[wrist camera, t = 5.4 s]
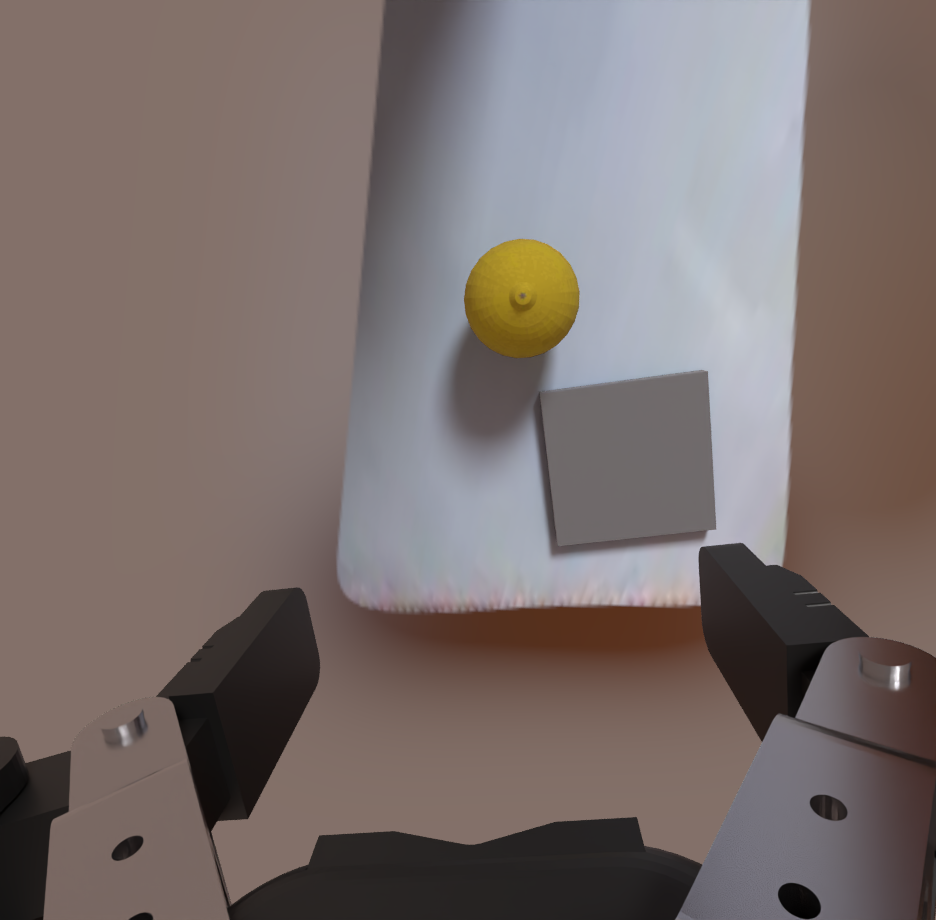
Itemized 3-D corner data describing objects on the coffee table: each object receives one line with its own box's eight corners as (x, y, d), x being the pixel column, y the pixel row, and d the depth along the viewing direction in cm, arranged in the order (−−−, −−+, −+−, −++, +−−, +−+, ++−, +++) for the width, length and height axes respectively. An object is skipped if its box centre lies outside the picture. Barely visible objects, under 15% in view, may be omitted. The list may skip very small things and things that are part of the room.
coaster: (539, 391, 33) (540, 393, 32) (701, 370, 32) (707, 371, 31) (556, 540, 35) (557, 546, 34) (710, 523, 34) (716, 529, 33)
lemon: (572, 249, 32) (593, 225, 24) (568, 354, 33) (586, 363, 25) (470, 250, 32) (457, 226, 24) (469, 353, 33) (457, 362, 25)
